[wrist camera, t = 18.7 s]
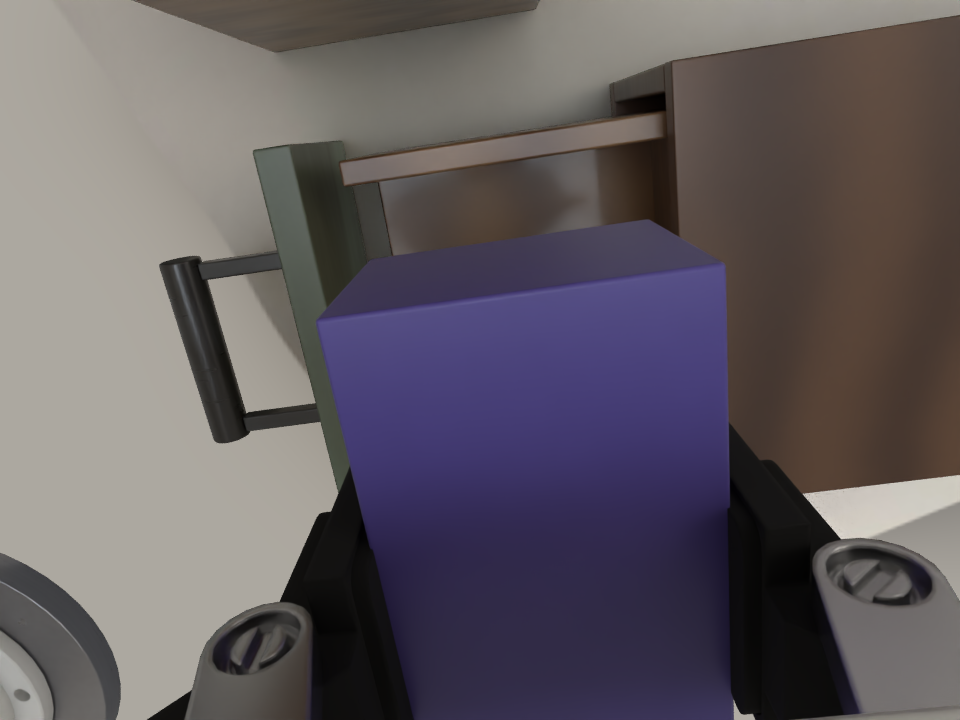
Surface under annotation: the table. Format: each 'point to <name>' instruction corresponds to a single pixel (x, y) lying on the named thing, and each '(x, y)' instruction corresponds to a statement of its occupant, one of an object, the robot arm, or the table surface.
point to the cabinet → (828, 241)
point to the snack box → (545, 471)
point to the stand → (327, 17)
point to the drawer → (410, 231)
